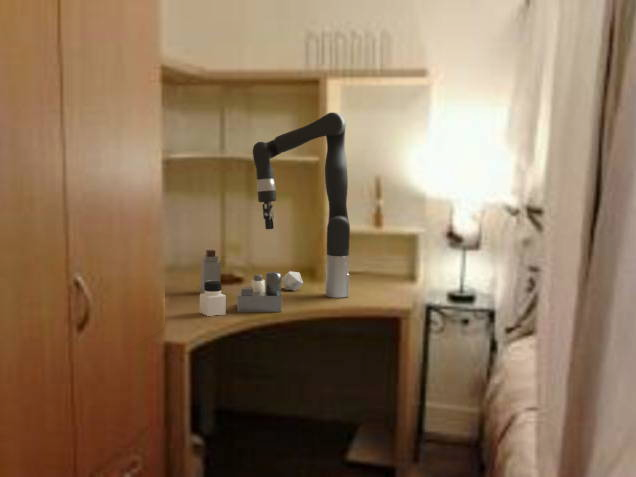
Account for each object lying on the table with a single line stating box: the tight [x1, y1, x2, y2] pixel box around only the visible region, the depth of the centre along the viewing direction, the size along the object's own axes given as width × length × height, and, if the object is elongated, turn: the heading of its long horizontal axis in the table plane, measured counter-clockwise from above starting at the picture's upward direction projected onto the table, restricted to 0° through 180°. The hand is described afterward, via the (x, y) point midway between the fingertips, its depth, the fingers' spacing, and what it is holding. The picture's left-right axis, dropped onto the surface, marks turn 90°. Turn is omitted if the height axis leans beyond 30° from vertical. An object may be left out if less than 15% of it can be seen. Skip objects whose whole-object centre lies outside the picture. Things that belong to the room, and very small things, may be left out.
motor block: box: [236, 271, 283, 313], centre depth 244 cm, size 16×13×14 cm
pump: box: [250, 273, 266, 293], centre depth 248 cm, size 5×5×12 cm
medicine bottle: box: [199, 280, 227, 317], centre depth 233 cm, size 7×7×12 cm
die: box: [281, 270, 304, 292], centre depth 281 cm, size 8×9×10 cm
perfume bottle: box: [200, 249, 222, 294], centre depth 268 cm, size 7×7×18 cm
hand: (269, 229), depth 271 cm, fingers open, 8 cm apart
